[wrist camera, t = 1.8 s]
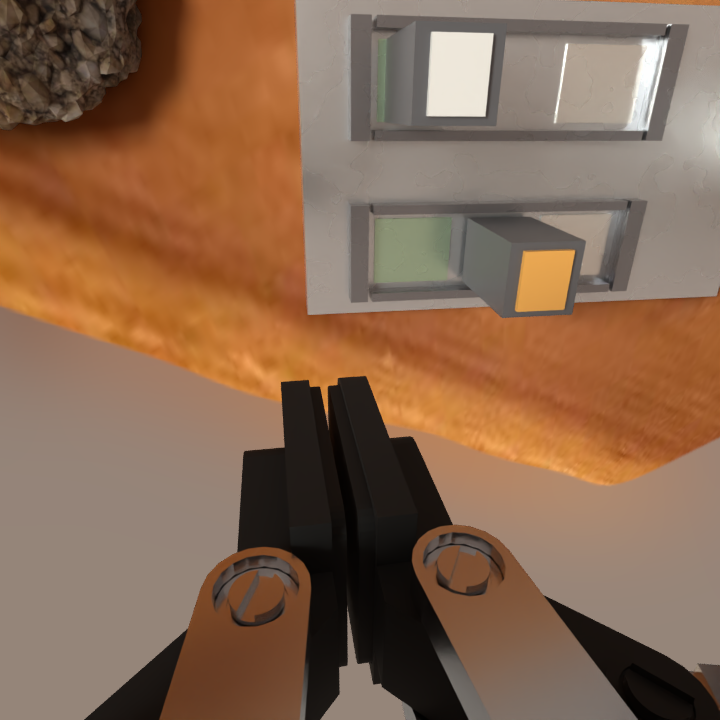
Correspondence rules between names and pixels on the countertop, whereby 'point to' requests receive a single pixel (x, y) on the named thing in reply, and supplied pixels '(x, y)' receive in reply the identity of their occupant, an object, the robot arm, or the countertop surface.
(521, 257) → the handle
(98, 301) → the countertop surface
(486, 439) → the countertop surface
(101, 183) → the countertop surface
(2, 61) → the concrete sample
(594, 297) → the panel
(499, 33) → the handle
